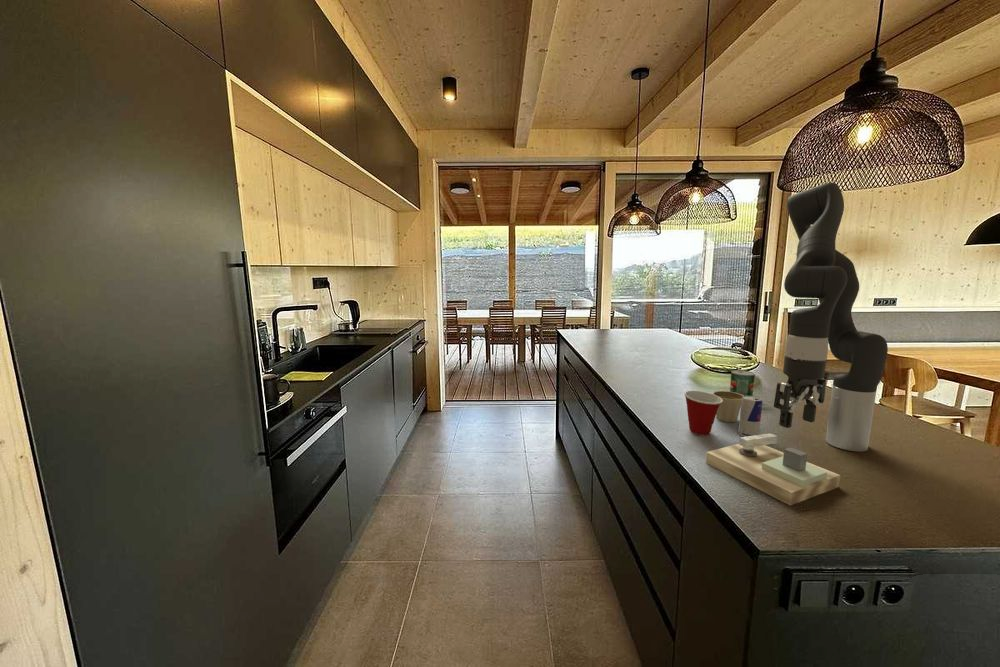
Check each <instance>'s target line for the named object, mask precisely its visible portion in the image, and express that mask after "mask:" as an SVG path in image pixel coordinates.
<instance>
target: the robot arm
mask: <svg viewBox="0 0 1000 667" xmlns="http://www.w3.org/2000/svg"><path fill="white" fill-rule="evenodd" d="M786 207H787V212H788V216H789V219H790V222H791V224H792V226H793V228H794V231H795V234H796V236H797V238H798V243H797V248H796V259H795V262H794V263H793V265H792V266H791V267H790V269H789V270H788V271H787V275H786V276H785V279H784V283H783V286H784V290H785V292H786V293H787V295H789V296H790V297H792V298H796V299H797V298H798V299H800V298H801V299H804V298H805V299H818V302H819V304H817V305H816V306H812V307H804V308H798V309H795V310H793V311H791V314H790V319H789V320H790V321H789V328H788V329H789V330H788V335H787V339H786V343H785V351H784V358H783V365H782V366H783V367H782V373H783V374H784V375H786V376H787V377H788V378H787V380H786V383H784V382H780V381H778V382H777V384H776V389H775V396H774V401H773V408H774V409H778V410H780V414H779V420H778V422H779V426H780V427H783V428H787V429H790V428H792V424H793V416H794V413H793V412H794V410H795V408H796V406H799V405H800V404H801V403H802V401H803V402H804V406H803V412H802V420H803V421H806V422H809V423H814V422H815V420H816V413H817V408H818V407H819V406H820V404H823V403H825V397H826V396H825V395H826V385H827V379H826V378H825V376H826V369H827V367H826V366H827V360H828V353H829V351H830V352H831V354H832V356H833V357H834V358H836V359H837V360H839V361H841V362H844V363H849V364H850V368H849V371H848V372H847V373H838V374H835V375H834V377H833V380H832V388H831V396H830V397H831V398H830V403H829V411H828V412H829V413H828V418H827V428H826V434H825V443H827V444H829V445H831V446H832V447H836V448H838V449H842V450H844V451H845V450H846V451H850V452H859V453H860V452H862V453H863V452H867V451H868V450H869V442H870V438H871V437H870V436H871V429H872V424H873V417H874V409H875V404H876V395H877V389H878V386H879V384H880V382H882V379H883V375H884V370H885V367H886V363H887V358H888V350H889V348H888V343H887V341H886V339H885V338H884V337H883V336H882V335H880V334H877V333H874V332H873V333H871V332H865V331H859V330H858V329H857V328H856V326H855V322H854V319H853V316H852V311H853V309H852V308H853V306H854V304H855V301H856V299H857V297H858V294H859V291H860V282H859V278H858V274H857V271H856V268H855V265H854V262H852V260H851V259H850V258H849V257H848V256H846V255H845V254H843V253H842V252H840V251H839V250H837V249H836V241H837V240H836V239H837V234H838V231H839V228H840V225H841V222H842V220H843V219H842V218H843V215H844V212H845V210H844V209H845V200H844V196H843V193H842V189H841V188H840V186H839V185H838V184H837V183H835V182H826V183H822V184H819V185H817V186H815V187H810V188H808V189H806V190H803V191H801V192H796V193H794V194H792V195H790V196H789V197H788V198H787V201H786Z"/></svg>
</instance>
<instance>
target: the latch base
mask: <svg viewBox="0 0 1000 667" xmlns="http://www.w3.org/2000/svg"><path fill="white" fill-rule="evenodd" d="M782 456H784V451H780V450H779V449H776V448H773V447H771V446H768V445H762V446H755V447H754V452H753V453H748V452H745V451H743V446H741V445H739V443H736V444H733V445H728V446H725V447H721V448H716V449H713V450H710V451H706V456H705V463H706V464H708V465H710V466H712V467H713V468H715V469H718V470H719V471H721V472H724V473H725V474H727V475H730V476H732V477H733V478H735V479H737V480H739V481H741V482H743V483H745V484H746V485H749V486H751V487H753V488H755V489H757V490H759V491H760V492H762V493H764V494H766V495H769V496H771V497H773V498H775V499H776V500H779V501H781V502H782V503H785V504H787V505H789V506H793V505H795V504H798V503H801V502H803V501H806V500H809V499H810V498H811V499H812V498H813V497H816V496H819V495H821V494H824V493H827V492H830V491H833V490H835V489H838V488H839V487H840V482H841V474H839V473H836V472H834V471H831V470H828V469H826V468H823V467H821V466H818V465H815V464H813V463H810V462H808V461H806V464H808V465H811V466H813V467H816V468H818V469H820V470H823V471H825V472H827V478H826V479H823V480H820V481H817V482H815V483H812V484H809V485H806V486H803V487H801V486H799V485H797V484H795V483H792V482H790V481H788V480H786V479H784V478H781V477H779V476H777V475H775V474H773V473H770V472H768V471H766V470H764V469H762V463H763V462H766V461H769V460H773V459H776V458H779V457H782Z"/></svg>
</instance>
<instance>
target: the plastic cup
mask: <svg viewBox="0 0 1000 667" xmlns="http://www.w3.org/2000/svg"><path fill="white" fill-rule="evenodd" d="M684 397H685V403H686V409H687V419H688V420H687V421H688V425H689V427H688V428H689V431H690V432H691V433H693V434H695V435H699V436H709V435H710V434H711V432H712V428H713V425H714V423H715V419H716V413H717V410H718V408H719V406H720V404H721V403H722V402H723V399H721V398H720V397H718V396H716V395H714V394H713V393H710V392H705V391H701V390H686V391H685V392H684Z"/></svg>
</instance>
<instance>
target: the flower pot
mask: <svg viewBox="0 0 1000 667" xmlns="http://www.w3.org/2000/svg"><path fill="white" fill-rule="evenodd" d="M712 394H714V395H716V396H718V397H720V398H721V399H723V402H722V403H721V404H720V406H719V408H718V410H717V413H716V416H715V419H718V420H719V421H721V422H726V423H736V422H737V421H738V418H739V416H740V411H741V400H742V398H743V395H741V394H738V393H735V392H730V390H729V391H727V390H717V391H713V392H712Z"/></svg>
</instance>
